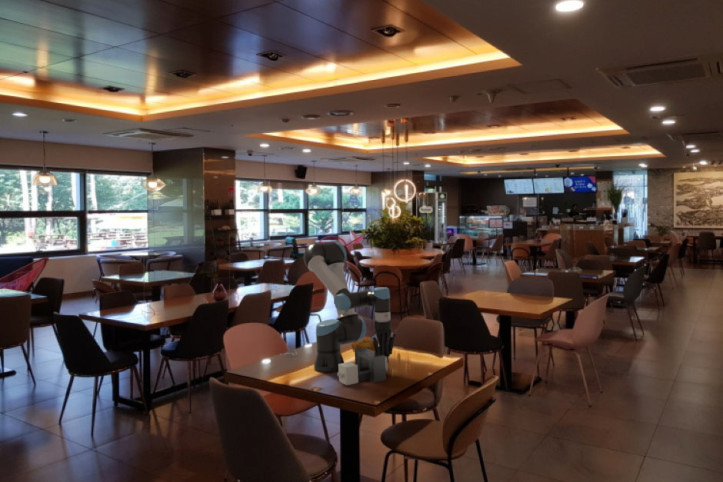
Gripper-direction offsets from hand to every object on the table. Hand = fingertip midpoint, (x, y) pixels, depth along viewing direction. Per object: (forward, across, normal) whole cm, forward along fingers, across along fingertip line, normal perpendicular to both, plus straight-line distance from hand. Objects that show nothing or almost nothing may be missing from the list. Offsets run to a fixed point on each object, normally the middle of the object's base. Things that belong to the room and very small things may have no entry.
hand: (384, 370), depth 255 cm
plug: (+2, -13, 0) cm, 13 cm away
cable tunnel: (+2, -8, 0) cm, 8 cm away
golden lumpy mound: (+2, +17, +47) cm, 50 cm away
